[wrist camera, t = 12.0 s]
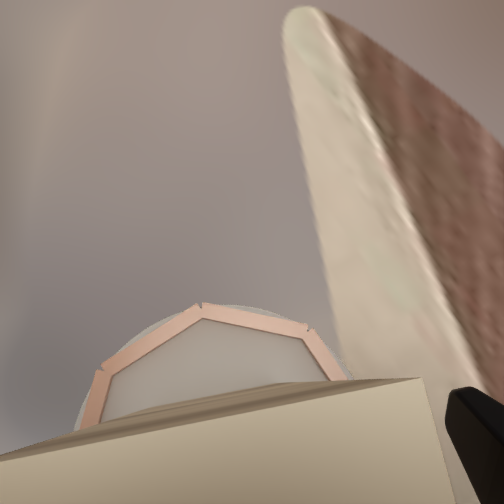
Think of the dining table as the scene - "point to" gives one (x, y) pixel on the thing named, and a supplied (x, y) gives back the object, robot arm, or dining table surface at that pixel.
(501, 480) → the robot arm
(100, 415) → the ring stand
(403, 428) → the wooden block
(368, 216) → the dining table surface
